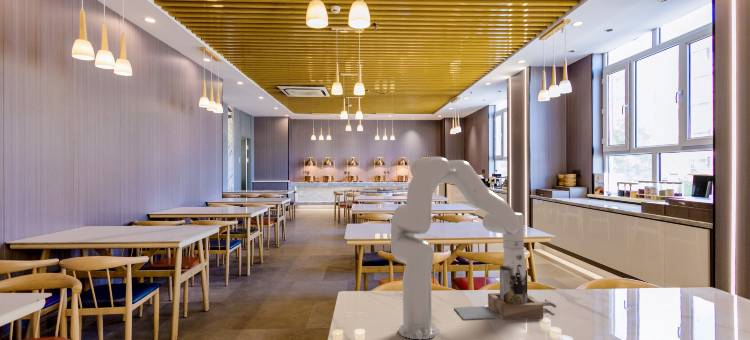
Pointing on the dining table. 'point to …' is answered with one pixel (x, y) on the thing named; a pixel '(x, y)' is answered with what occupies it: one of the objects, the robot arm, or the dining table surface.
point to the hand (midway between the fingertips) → (513, 290)
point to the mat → (474, 313)
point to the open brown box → (517, 307)
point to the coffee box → (511, 287)
